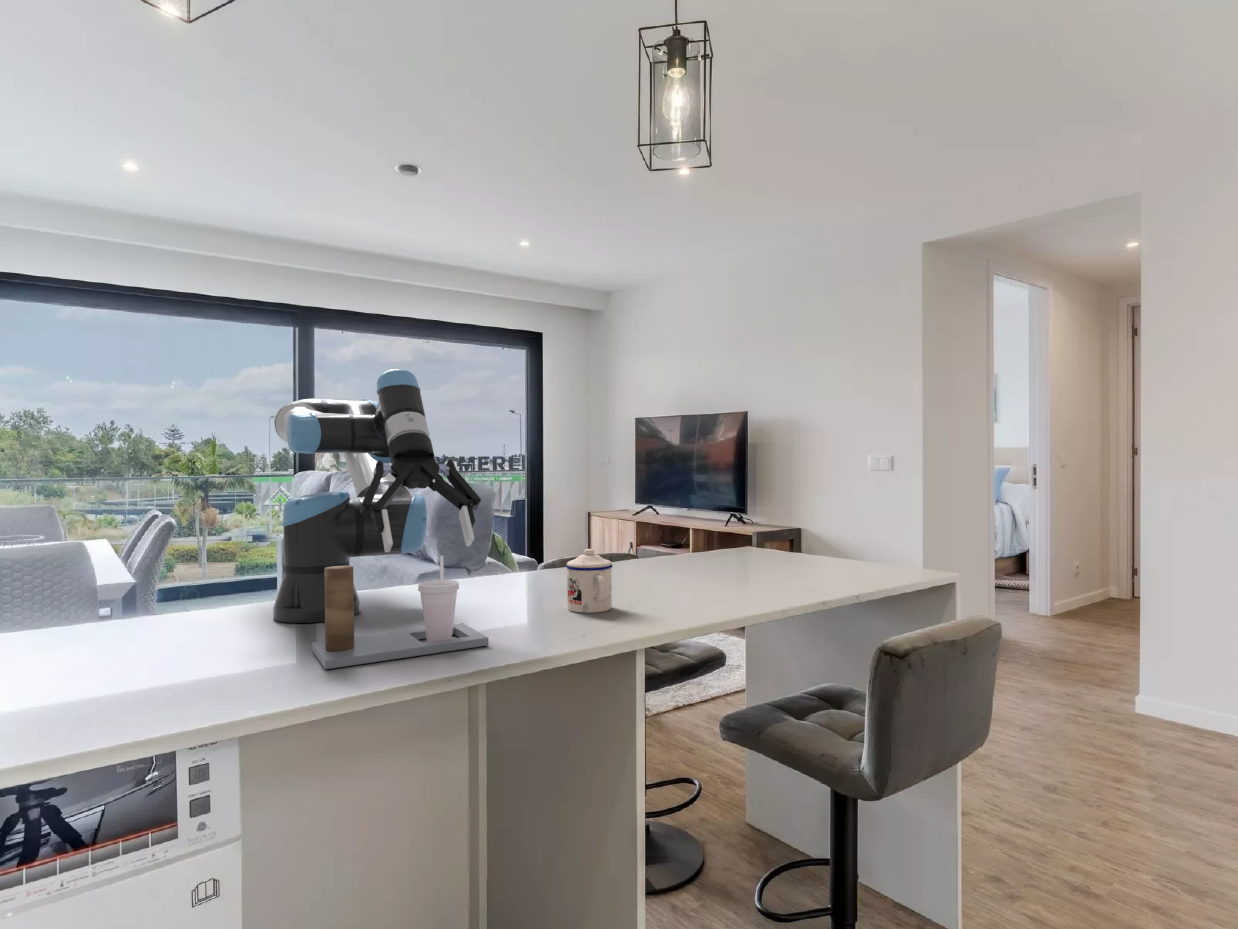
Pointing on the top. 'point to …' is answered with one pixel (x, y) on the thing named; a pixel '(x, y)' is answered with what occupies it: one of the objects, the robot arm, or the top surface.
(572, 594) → the teacup with lid
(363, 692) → the top surface
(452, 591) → the smoothie
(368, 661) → the cup holder tray
